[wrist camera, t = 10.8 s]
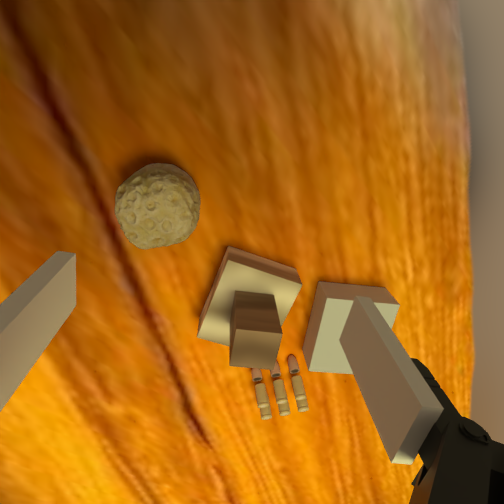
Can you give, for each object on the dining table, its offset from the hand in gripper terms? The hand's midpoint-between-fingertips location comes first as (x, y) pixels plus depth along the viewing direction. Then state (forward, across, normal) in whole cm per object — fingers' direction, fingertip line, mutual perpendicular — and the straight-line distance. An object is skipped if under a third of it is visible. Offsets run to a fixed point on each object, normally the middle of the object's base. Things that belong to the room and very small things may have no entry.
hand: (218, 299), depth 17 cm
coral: (+29, -7, -5) cm, 31 cm away
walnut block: (+24, +6, -16) cm, 29 cm away
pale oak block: (+29, +6, -17) cm, 34 cm away
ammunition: (+28, +14, -31) cm, 44 cm away
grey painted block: (+29, +21, -19) cm, 40 cm away
